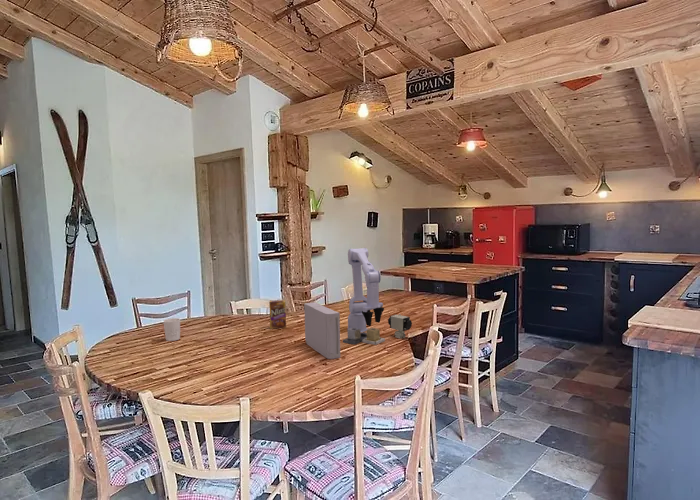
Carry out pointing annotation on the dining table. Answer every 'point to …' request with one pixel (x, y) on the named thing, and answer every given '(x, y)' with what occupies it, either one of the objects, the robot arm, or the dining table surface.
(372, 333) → the tan rectangular block
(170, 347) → the dining table surface
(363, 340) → the tray
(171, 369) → the dining table surface
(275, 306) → the candy box
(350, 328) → the robot arm
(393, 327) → the pneumatic valve
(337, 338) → the game console
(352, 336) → the grey rectangular block
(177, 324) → the white cup
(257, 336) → the dining table surface
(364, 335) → the rail
